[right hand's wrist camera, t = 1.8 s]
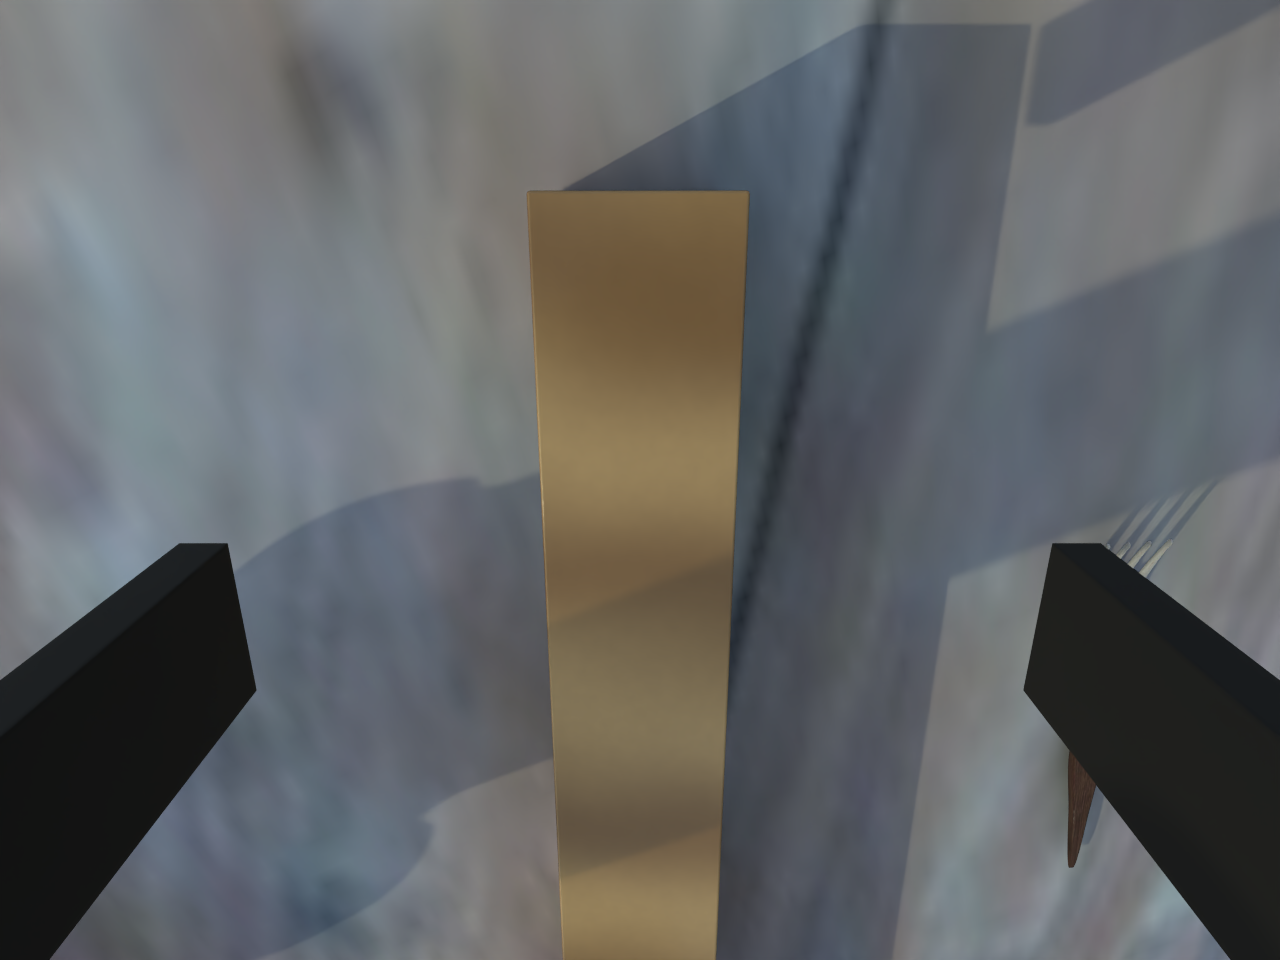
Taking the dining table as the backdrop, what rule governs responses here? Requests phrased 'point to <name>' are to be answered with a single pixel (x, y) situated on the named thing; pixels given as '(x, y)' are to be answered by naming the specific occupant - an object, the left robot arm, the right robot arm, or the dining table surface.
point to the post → (638, 551)
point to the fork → (1078, 778)
